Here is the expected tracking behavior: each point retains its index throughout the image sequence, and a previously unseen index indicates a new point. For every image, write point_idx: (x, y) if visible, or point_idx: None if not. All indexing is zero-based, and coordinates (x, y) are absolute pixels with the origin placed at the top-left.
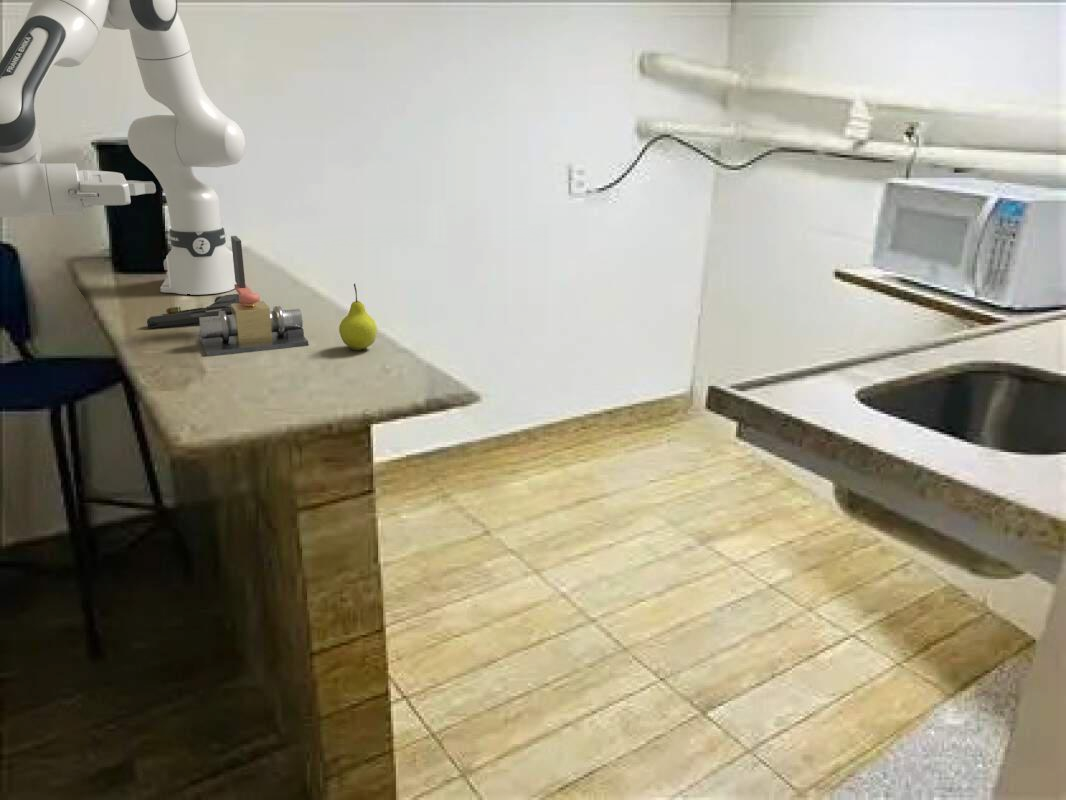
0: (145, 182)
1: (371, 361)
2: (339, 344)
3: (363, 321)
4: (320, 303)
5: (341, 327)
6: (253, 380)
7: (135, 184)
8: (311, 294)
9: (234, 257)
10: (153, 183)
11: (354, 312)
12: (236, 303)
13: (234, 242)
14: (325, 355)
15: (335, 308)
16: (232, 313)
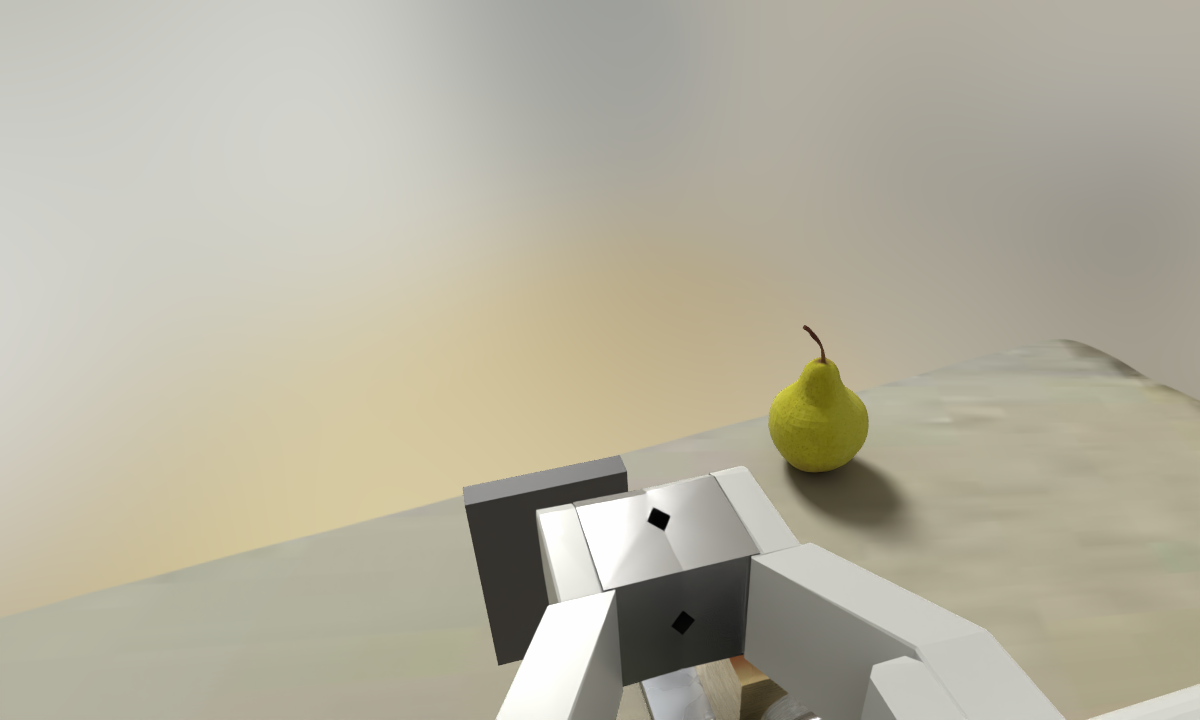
0: (667, 555)
1: (910, 441)
2: (774, 496)
3: (849, 389)
4: (292, 556)
5: (851, 436)
6: (1189, 657)
7: (954, 632)
8: (142, 586)
9: (538, 565)
10: (742, 469)
11: (841, 384)
12: (734, 665)
13: (583, 492)
14: (881, 516)
15: (379, 519)
16: (762, 702)
